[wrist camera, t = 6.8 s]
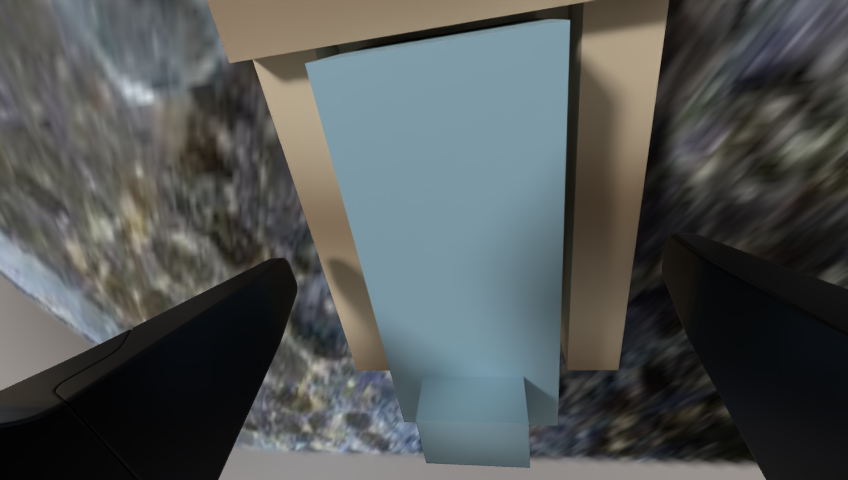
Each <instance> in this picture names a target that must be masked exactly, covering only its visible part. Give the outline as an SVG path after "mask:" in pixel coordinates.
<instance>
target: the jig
mask: <svg viewBox="0 0 848 480" xmlns="http://www.w3.org/2000/svg"><path fill="white" fill-rule="evenodd" d="M207 2H208V5H209V8H210V10H211V13H212V16H213V19H214V21H215V24H216V27H217V30H218V32H219V35H220V38H221V41H222V43H223V46H224V49H225V52H226V54H227V57H228V60H229V63H233V62H239V61H245V60H250V59H253V62H254V65H255V68H256V71H257V74H258V77H259V80H260V83H261V86H262V89H263V92H264V95H265V98H266V101H267V104H268V107H269V110H270V113H271V115H272V118H273V121H274V124H275V127H276V130H277V133H278V136H279V139H280V142H281V145H282V148H283V151H284V154H285V157H286V160H287V163H288V166H289V169H290V172H291V175H292V178H293V181H294V184H295V187H296V190H297V193H298V196H299V199H300V202H301V205H302V208H303V211H304V214H305V217H306V219H307V222H308V225H309V228H310V231H311V234H312V237H313V240H314V243H315V246H316V249H317V252H318V255H319V258H320V261H321V264H322V267H323V270H324V273H325V276H326V279H327V282H328V285H329V288H330V291H331V294H332V297H333V300H334V303H335V306H336V309H337V312H338V315H339V318H340V321H341V324H342V326H343V329H344V332H345V335H346V338H347V341H348V344H349V347H350V350H351V353H352V356H353V359H354V362H355V365H356V368H357V370H390V369H389V365H388V362H387V358H386V354H385V351H384V347H383V344H382V340H381V336H380V333H379V329H378V326H377V322H376V318H375V315H374V311H373V308H372V304H371V300H370V297H369V293H368V289H367V286H366V282H365V279H364V275H363V271H362V268H361V264H360V261H359V257H358V253H357V250H356V246H355V243H354V239H353V235H352V232H351V228H350V225H349V221H348V217H347V214H346V210H345V206H344V203H343V199H342V196H341V192H340V188H339V185H338V181H337V178H336V174H335V170H334V167H333V163H332V160H331V156H330V152H329V149H328V145H327V142H326V138H325V134H324V131H323V127H322V123H321V120H320V116H319V113H318V109H317V105H316V102H315V98H314V95H313V91H312V87H311V84H310V80H309V77H308V73H307V69H306V66H305V63H309V62H312V61H316V60H320V59H323V58H327V57H331V56H334V55H338V54H342V53H345V52H349V51H353V50H356V49H360V48H364V47H367V46H372V45H378V44H384V43H390V42H396V41H402V40H408V39H414V38H420V37H426V36H432V35H438V34H444V33H450V32H456V31H462V30H468V29H474V28H480V27H485V26H491V25H497V24H503V23H509V22H515V21H521V20H527V19H533V18H544V19H563V20H570V41H569V74H568V106H567V138H566V171H565V203H564V236H563V268H562V301H561V333H560V342H561V346H562V350H563V355H564V359H565V363H566V367H567V370H618V369H619V361H620V354H621V347H622V340H623V332H624V325H625V318H626V311H627V303H628V296H629V289H630V282H631V274H632V267H633V260H634V253H635V245H636V238H637V231H638V223H639V216H640V209H641V202H642V194H643V187H644V180H645V173H646V165H647V158H648V151H649V144H650V136H651V129H652V122H653V115H654V107H655V100H656V93H657V85H658V78H659V71H660V64H661V56H662V49H663V42H664V35H665V27H666V20H667V13H668V6H669V0H207Z"/></svg>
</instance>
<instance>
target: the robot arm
mask: <svg viewBox="0 0 848 480" xmlns="http://www.w3.org/2000/svg"><path fill="white" fill-rule="evenodd" d="M662 275H663V278H664V280H665V283H666V285H667V288H668V291H669V293H670V296H671V298H672V301H673V303H674V306H675V308H676V311H677V313H678V316H679V318H680V321H681V323H682V326H683V328H684V330H685V333H686V335H687V337H688V339H689V341H690V343H691V345H692V346H693V348H694V350H695V352H696V354H697V355H698V357H699V359H700V361H701V363H702V365H703V366H704V368H705V370H706V372H707V374H708V375H709V377H710V379H711V381H712V383H713V384H714V386H715V388H716V390H717V392H718V393H719V395H720V397H721V399H722V401H723V403H724V404H725V406H726V408H727V410H728V412H729V413H730V415H731V417H732V419H733V421H734V422H735V424H736V426H737V428H738V430H739V431H740V433H741V435H742V437H743V439H744V441H745V442H746V444H747V446H748V448H749V450H750V451H751V453H752V455H753V457H754V459H755V460H756V462H757V464H758V466H759V468H760V470H761V471H762V473H763V475H764V477H765V478H766V480H848V289H845V288H842V287H840V286H837V285H834V284H831V283H829V282H826V281H823V280H820V279H818V278H815V277H812V276H809V275H807V274H804V273H801V272H798V271H796V270H793V269H790V268H787V267H785V266H782V265H779V264H777V263H774V262H771V261H768V260H766V259H763V258H760V257H757V256H755V255H752V254H749V253H746V252H744V251H741V250H738V249H735V248H733V247H730V246H727V245H724V244H722V243H719V242H716V241H713V240H711V239H708V238H705V237H702V236H700V235H697V234H694V233H674V234H671V235H669V236H668V238H667V241H666V246H665V252H664V257H663V263H662ZM297 290H298V287H297V282H296V280H295V277H294V275H293V272H292V269H291V267H290V264H289V262H288V261H287V260H286V259H284V258H275V259H269V260H267V261H265V262H263V263H261V264H259V265H257V266H255V267H253V268H251V269H249V270H247V271H245V272H243V273H241V274H239V275H237V276H235V277H233V278H231V279H229V280H227V281H225V282H223V283H221V284H219V285H217V286H215V287H213V288H211V289H209V290H207V291H205V292H203V293H201V294H199V295H197V296H195V297H193V298H191V299H189V300H187V301H185V302H183V303H181V304H179V305H177V306H175V307H173V308H171V309H169V310H167V311H165V312H163V313H161V314H159V315H157V316H155V317H153V318H151V319H149V320H147V321H145V322H143V323H141V324H139V325H137V326H136V327H134V328H133V329H132V330H127V331H125V332H123V333H121V334H119V335H117V336H116V337H114V338H112V339H109V340H107V341H105V342H103V343H101V344H99V345H97V346H95V347H93V348H91V349H89V350H87V351H85V352H83V353H81V354H79V355H77V356H75V357H72V358H70V359H68V360H66V361H64V362H62V363H60V364H57V365H55V366H53V367H51V368H49V369H47V370H44V371H42V372H40V373H38V374H36V375H34V376H31V377H29V378H27V379H25V380H23V381H21V382H18V383H16V384H14V385H12V386H10V387H8V388H5V389H4V390H1V391H0V480H218V479H219V477H220V475H221V473H222V470H223V468H224V466H225V464H226V461H227V459H228V457H229V455H230V453H231V451H232V448H233V446H234V444H235V442H236V440H237V437H238V435H239V433H240V431H241V429H242V426H243V424H244V422H245V420H246V418H247V415H248V413H249V411H250V409H251V407H252V404H253V402H254V400H255V398H256V396H257V393H258V391H259V389H260V387H261V385H262V382H263V380H264V378H265V376H266V374H267V371H268V369H269V367H270V365H271V363H272V360H273V358H274V356H275V354H276V352H277V349H278V347H279V345H280V342H281V340H282V337H283V334H284V331H285V328H286V325H287V322H288V319H289V316H290V313H291V310H292V307H293V304H294V301H295V298H296V295H297Z"/></svg>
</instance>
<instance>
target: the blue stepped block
mask: <svg viewBox="0 0 848 480" xmlns="http://www.w3.org/2000/svg"><path fill="white" fill-rule="evenodd" d="M569 41H570V20H563V19H544V18H533V19H527V20H521V21H515V22H509V23H503V24H497V25H491V26H485V27H480V28H474V29H468V30H462V31H456V32H450V33H444V34H438V35H432V36H426V37H420V38H414V39H408V40H402V41H396V42H390V43H384V44H378V45H372V46H367V47H364V48H360V49H356V50H353V51H349V52H345V53H342V54H338V55H334V56H331V57H327V58H323V59H320V60H316V61H312V62H309V63H305V66H306V69H307V73H308V77H309V80H310V84H311V87H312V91H313V95H314V98H315V102H316V105H317V109H318V113H319V116H320V120H321V123H322V127H323V131H324V134H325V138H326V142H327V145H328V149H329V152H330V156H331V160H332V163H333V167H334V170H335V174H336V178H337V181H338V185H339V188H340V192H341V196H342V199H343V203H344V206H345V210H346V214H347V217H348V221H349V225H350V228H351V232H352V235H353V239H354V243H355V246H356V250H357V253H358V257H359V261H360V264H361V268H362V271H363V275H364V279H365V282H366V286H367V289H368V293H369V297H370V300H371V304H372V308H373V311H374V315H375V318H376V322H377V326H378V329H379V333H380V336H381V340H382V344H383V347H384V351H385V354H386V358H387V362H388V365H389V369H390V373H391V376H392V380H393V383H394V387H395V391H396V394H397V398H398V401H399V405H400V409H401V412H402V416H403V419H404V422H416V424H417V428H418V432H419V436H420V440H421V444H422V448H423V451H424V455H425V459H426V463H436V464H459V465H481V466H502V467H526V468H530V451H529V425H547V426H558V398H559V366H560V333H561V301H562V268H563V236H564V203H565V171H566V138H567V106H568V74H569Z"/></svg>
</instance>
